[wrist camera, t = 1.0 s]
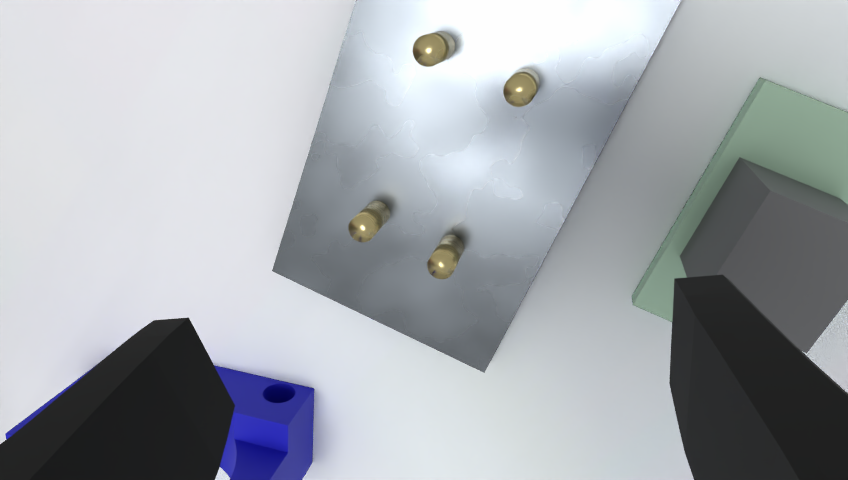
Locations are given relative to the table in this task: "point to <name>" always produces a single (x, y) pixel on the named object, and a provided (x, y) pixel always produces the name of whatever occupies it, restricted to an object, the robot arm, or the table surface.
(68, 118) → the table surface
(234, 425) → the cable clip
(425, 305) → the chassis plate
